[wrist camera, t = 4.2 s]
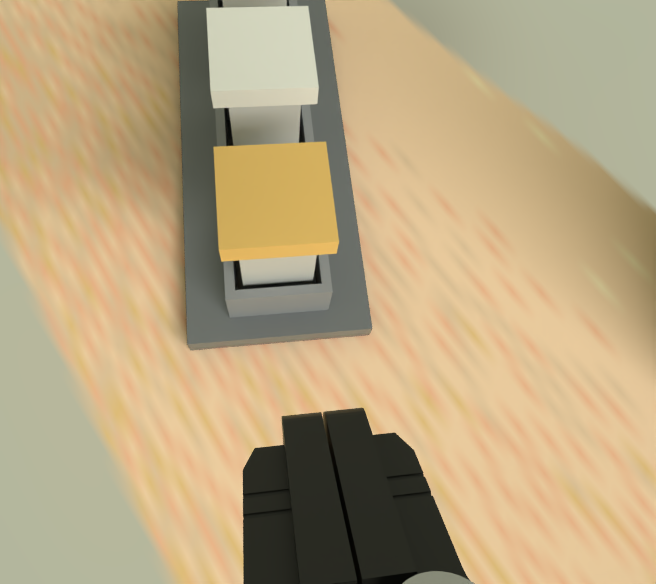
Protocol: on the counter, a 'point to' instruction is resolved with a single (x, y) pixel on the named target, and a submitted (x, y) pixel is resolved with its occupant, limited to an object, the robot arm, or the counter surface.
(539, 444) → the counter surface
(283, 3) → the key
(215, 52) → the middle key
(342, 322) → the keypad
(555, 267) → the counter surface
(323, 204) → the amber key
